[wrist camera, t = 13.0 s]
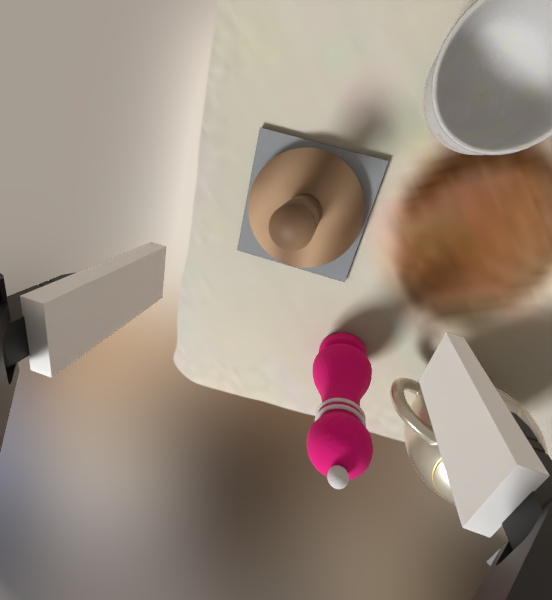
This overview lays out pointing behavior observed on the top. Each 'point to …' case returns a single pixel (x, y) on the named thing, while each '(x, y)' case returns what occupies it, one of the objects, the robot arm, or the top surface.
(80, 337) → the robot arm
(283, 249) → the lid
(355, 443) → the pepper mill
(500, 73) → the teacup
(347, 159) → the mat
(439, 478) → the teapot
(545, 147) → the top surface
